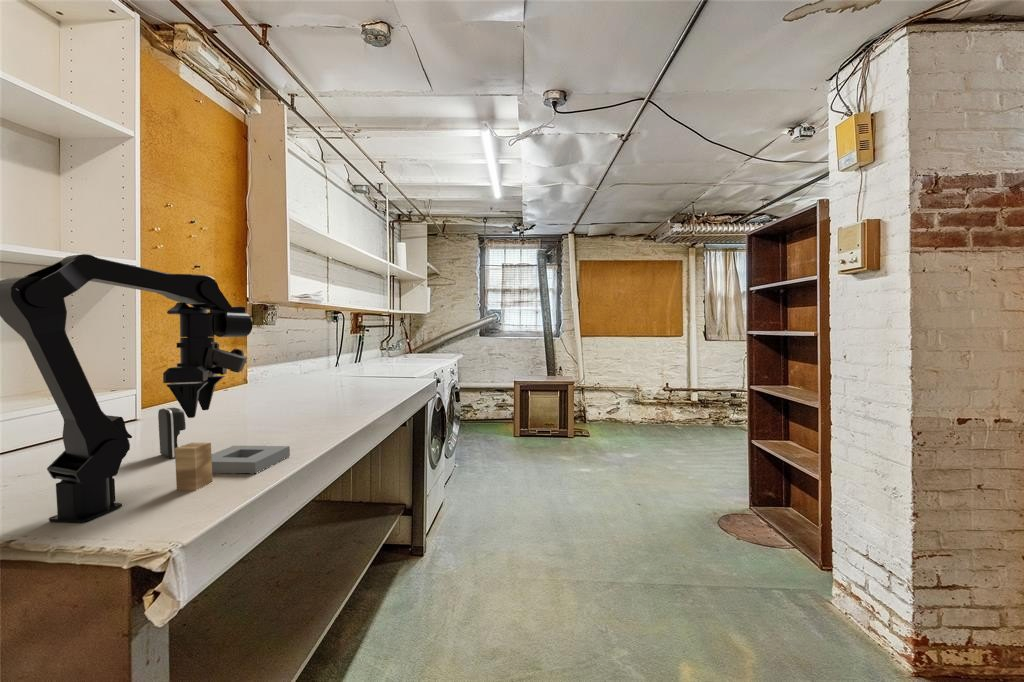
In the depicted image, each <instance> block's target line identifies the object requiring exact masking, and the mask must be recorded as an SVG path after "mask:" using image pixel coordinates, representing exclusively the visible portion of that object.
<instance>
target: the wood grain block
mask: <svg viewBox="0 0 1024 682" xmlns="http://www.w3.org/2000/svg"><path fill="white" fill-rule="evenodd" d="M211 454H212V442H188V443H186V444H183V445H180V446H178V447H177V448H175V457H174V459H175V476H176V477H175V480H176V481H175V482H176V490H177V491H198V490H200V489H202V488H204V487H203V486H205V485H207V484H209V483H211V482H214V481H213V473H212V456H211ZM211 484H212V483H211ZM209 485H210V484H209ZM207 486H208V485H207ZM201 487H202V488H201ZM205 487H206V486H205ZM199 488H200V489H199ZM179 489H180V490H179ZM197 489H198V490H197Z"/></svg>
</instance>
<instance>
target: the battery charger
mask: <svg viewBox="0 0 1024 682" xmlns="http://www.w3.org/2000/svg"><path fill="white" fill-rule="evenodd" d="M157 415H158V416H157V418H158V419H157V420H158V437H159V438H158V440H159V454H161V455H162V456H164V457H165V458H168V459H175V448H177V447H179V445H178V436H179V435H180V434H181V431H185V430H186V428H187V427H186V426H187V425H186V418H185V417H186V416H185V415H186V414H185V412H184V410H183V409H180V408H177V407H167V408H166V407H164V408H160V409H158V412H157Z"/></svg>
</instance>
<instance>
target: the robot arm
mask: <svg viewBox="0 0 1024 682" xmlns="http://www.w3.org/2000/svg"><path fill="white" fill-rule="evenodd" d="M89 282H94V283H100V284H104V285H111V286H116V287H122V288H127V289H133V290H139V291H144V292H149V293H156V294H158V295H161V296H163V297H165V298H167V299H169V300H172V301H174V302H176V304H175V305H174V306H172V307H171V308H169V309H168V310H166V311H167V312H166V313H167V315H176V316H177V315H179V337H180V338H179V342H176V349H178V348H179V351H180V352H179V353H180V356H179V357H180V359H179V360H180V362H178V363H176V366H172V367H168V368H167V369H166V370H165V371H164V372H163V373H162V375H163V378H162V383H163V384H166V387H167V388H168V389H169V391H171V393H172V395H173V396H174V397H175V399H176V400H177V401H178V403H179V405H180V407H181V408H182V409H181V410H182V411H183V412H184V415H186V417H187V418H188V419H194V418H196V414H197V408H198V403H199V405H200V408H201V410H202V411H209V409H210V406H211V402H212V399H213V396H214V391H215V388H216V386H217V384H218V383H219V382H220V381H222V380H223V379H224V378H225V375H226V374H227V371H228V370H229V371H230V372H233V373H241V372H243V370H244V367H245V365H246V364H247V362H248V361H247V360H248V357H247V356H245V355H244V354H245V353H244V350H242V349H239V348H234V349H232V350H231V351H229V350H223V349H220V344H219V343H218V341H215V337H218V338H239V337H240V338H244V337H247V336H249V335H250V334H251V332H252V330H253V325H254V324H253V321H252V318H251V315H249V313H248V312H246V306H232V305H231V304H230V302H229V300H228V299H227V298H226V296H225V295H224V293H223V292H222V291H221V290H220V288H219V285H218V282H217V281H216V279H215V278H214V277H213V276H210V275H207V274H193V273H191V274H190V273H170V272H169V273H168V272H163V271H158V270H154V269H149V268H145V267H142V266H136V265H133V264H127V263H122V262H118V261H113V260H110V259H109V260H108V259H104V258H100V257H97V256H94V255H92V254H88V253H87V254H86V253H85V254H84V253H82V254H75V255H69V256H68V255H67V256H65V257H64V258H63V259H61V260H59V261H57V262H55V263H54V264H53V263H52V264H51V265H48V266H46V267H44V268H41V269H37V270H35V271H34V272H30V273H28V274H27V275H24V276H19V277H8V278H5V279H0V318H1V319H2V320H3V322H5V323H6V325H8V326H9V327H10V328H11V329H12V330H13V331H15V332H16V333H17V334H18V335H19V336H20V337H21V338H22V339H23V341H24V342H25V344H26V345H27V347H28V350H29V352H30V353H31V356H32V358H33V360H34V362H35V364H36V366H37V368H38V370H39V372H40V374H41V376H42V378H43V380H44V382H45V384H46V386H47V388H48V390H49V392H50V395H51V397H52V398H53V400H54V402H55V404H56V406H57V409H58V411H59V412H60V415H61V417H62V419H63V429H62V440H63V446H64V451H63V452H62V453H61V454H60V455H58V457H57V458H56V459H55V460H54V461H52V462H51V464H50V465H48V467H47V468H46V470H47V472H48V474H49V475H50V477H51V478H52V479H54V480H60V481H59V482H57V483H56V482H55V495H56V497H55V498H56V511H57V512H56V513H57V514H56V515H53V516H50V517H48V522H60V523H61V522H64V523H66V522H67V523H85V522H89V521H91V520H93V519H95V518H97V517H99V516H101V515H105V514H107V513H109V512H112V511H113V510H116V509H118V508H121V507H122V506H123V502H116V486H115V485H116V483H115V482H116V481H115V479H114V477H115V476H117V475H118V472H119V470H120V467H121V464H122V462H123V460H124V458H126V456H127V454H128V452H129V451H130V450H131V443H130V440H129V439H132V438H133V435H131V433H129V432H128V429H127V428H126V424H125V420H124V418H123V416H115V415H107V414H106V413H104V411H103V410H102V408H101V406H100V404H99V402H98V400H97V398H96V395H95V393H94V390H93V389H92V387H91V384H90V383H89V381H88V378H87V376H86V374H85V371H84V370H83V367H82V365H81V363H80V361H79V359H78V357H77V355H76V352H75V350H74V347H73V346H72V343H71V341H70V339H69V337H68V335H67V332H66V325H67V316H68V311H67V306H66V302H65V298H67V297H68V296H70V295H72V294H74V293H76V292H77V291H78V290H80V289H81V288H82V287H83V286H85V285H86V284H87V283H89Z"/></svg>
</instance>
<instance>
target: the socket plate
mask: <svg viewBox="0 0 1024 682" xmlns="http://www.w3.org/2000/svg"><path fill="white" fill-rule="evenodd" d="M211 456H212V474H215V473H257V472H259V471H261V470H263V469H265V468H267V467H269V466H271V465H273V464H275V463H277V462H279V461H281V460H282V461H284V460H285V459H284V458H286V459H288V458H290V457H291V449H290V445H232V446H231V445H230V446H229V447H226V448H224V449H221V450H219V451H216V452H214V453H211ZM289 456H290V457H289ZM287 457H288V458H287ZM283 459H284V460H283ZM282 461H281V462H282ZM279 463H280V462H279ZM277 464H278V463H277ZM275 465H276V464H275ZM273 466H274V465H273ZM271 467H272V466H271ZM269 468H270V467H269ZM267 469H268V468H267ZM265 470H266V469H265ZM263 471H264V470H263ZM261 472H262V471H261ZM259 473H260V472H259ZM257 474H258V473H257Z"/></svg>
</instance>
